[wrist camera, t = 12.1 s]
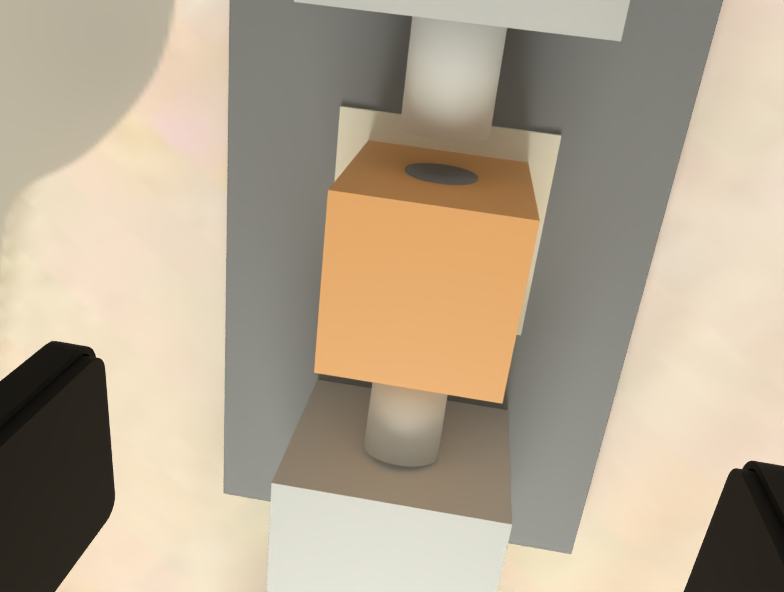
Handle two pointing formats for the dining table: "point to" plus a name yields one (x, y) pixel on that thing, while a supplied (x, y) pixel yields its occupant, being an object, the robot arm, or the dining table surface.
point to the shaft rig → (543, 291)
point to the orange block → (425, 269)
